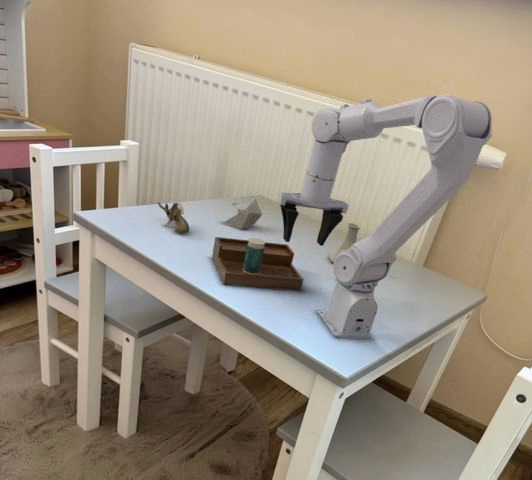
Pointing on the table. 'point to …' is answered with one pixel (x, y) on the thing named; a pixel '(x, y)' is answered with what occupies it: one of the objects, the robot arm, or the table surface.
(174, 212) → the eagle figurine
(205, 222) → the table surface
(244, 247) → the spice shelf
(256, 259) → the cylinder
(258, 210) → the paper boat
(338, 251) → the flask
